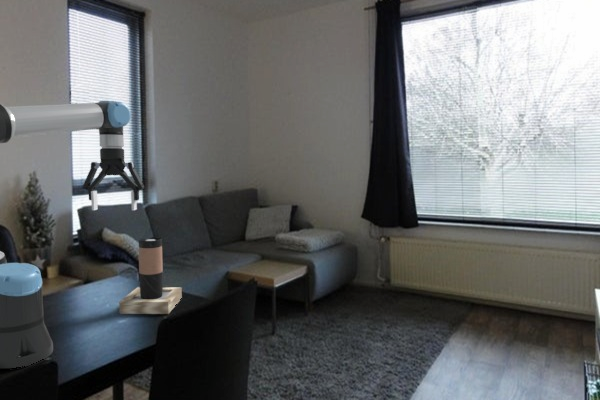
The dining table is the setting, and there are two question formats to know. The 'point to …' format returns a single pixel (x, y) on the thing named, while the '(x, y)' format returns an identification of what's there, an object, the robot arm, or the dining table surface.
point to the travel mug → (150, 268)
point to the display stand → (150, 302)
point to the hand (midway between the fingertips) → (114, 210)
